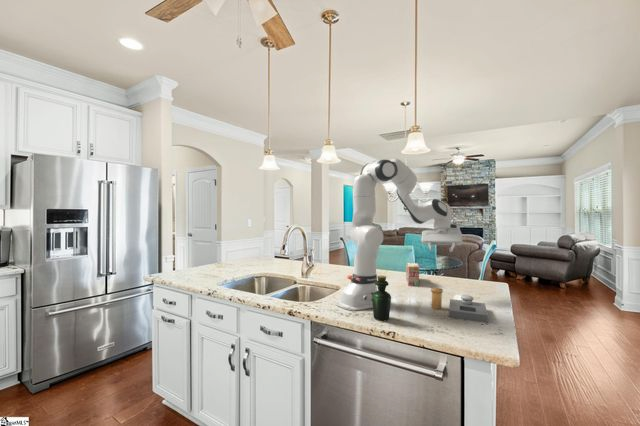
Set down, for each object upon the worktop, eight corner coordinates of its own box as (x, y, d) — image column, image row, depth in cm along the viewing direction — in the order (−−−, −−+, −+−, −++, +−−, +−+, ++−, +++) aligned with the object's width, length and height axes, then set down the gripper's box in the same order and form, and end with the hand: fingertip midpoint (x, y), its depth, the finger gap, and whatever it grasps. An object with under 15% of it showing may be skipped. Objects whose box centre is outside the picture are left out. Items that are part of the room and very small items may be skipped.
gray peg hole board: (488, 322, 127) (488, 308, 127) (448, 316, 133) (449, 303, 133) (484, 309, 143) (484, 297, 143) (449, 305, 149) (450, 293, 149)
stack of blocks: (405, 278, 206) (406, 260, 206) (415, 278, 205) (415, 260, 205) (408, 286, 185) (408, 266, 185) (419, 286, 184) (419, 266, 184)
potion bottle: (386, 314, 135) (387, 274, 135) (393, 321, 127) (394, 278, 127) (369, 315, 134) (369, 274, 134) (375, 322, 126) (375, 278, 126)
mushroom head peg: (438, 310, 141) (438, 291, 141) (428, 307, 145) (428, 288, 145) (444, 308, 144) (444, 289, 144) (434, 305, 148) (435, 287, 148)
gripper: (421, 226, 167) (419, 247, 159) (462, 225, 158) (462, 247, 150) (423, 232, 171) (421, 253, 163) (463, 232, 162) (463, 254, 154)
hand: (441, 250), depth 156 cm, fingers open, 8 cm apart
